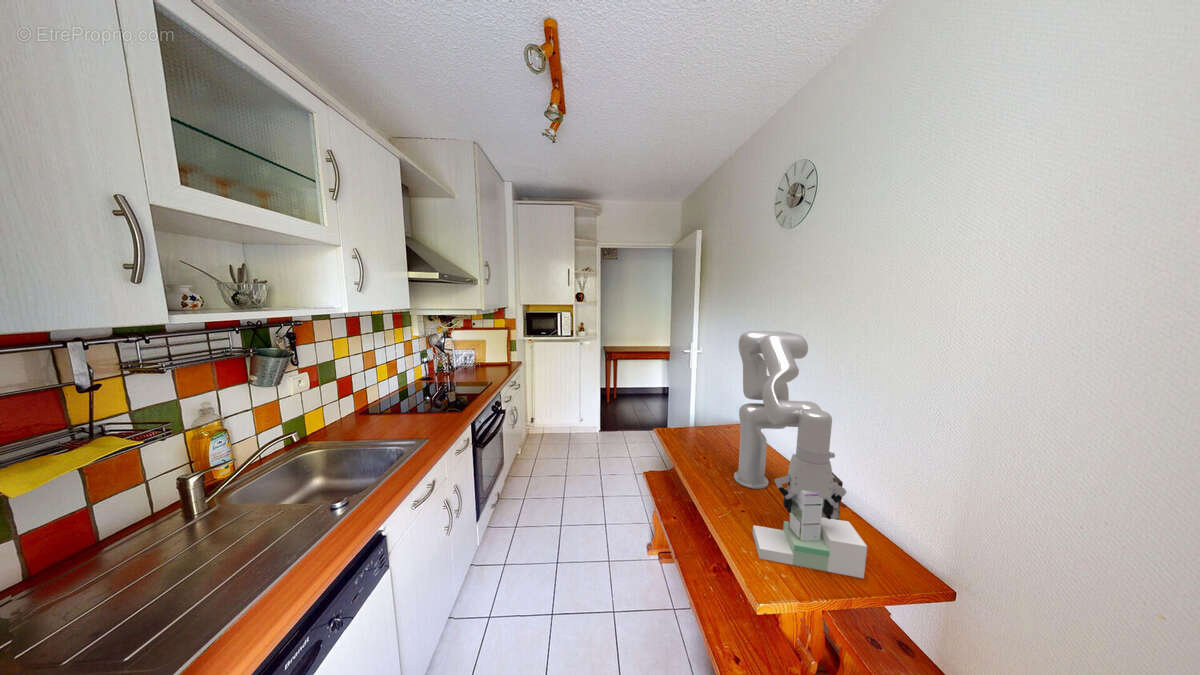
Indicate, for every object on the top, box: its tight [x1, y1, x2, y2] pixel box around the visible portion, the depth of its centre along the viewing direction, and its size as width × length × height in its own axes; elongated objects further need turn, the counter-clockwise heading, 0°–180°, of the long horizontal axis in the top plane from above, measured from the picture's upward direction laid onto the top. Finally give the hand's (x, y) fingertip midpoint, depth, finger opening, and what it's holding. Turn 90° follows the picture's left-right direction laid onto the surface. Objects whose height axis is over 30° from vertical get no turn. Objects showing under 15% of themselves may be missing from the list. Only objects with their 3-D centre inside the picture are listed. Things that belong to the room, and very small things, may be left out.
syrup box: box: [788, 490, 823, 541], centre depth 92 cm, size 6×6×14 cm
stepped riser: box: [752, 517, 868, 579], centre depth 93 cm, size 10×25×9 cm, turn 75°
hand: (807, 513), depth 92 cm, fingers open, 9 cm apart
